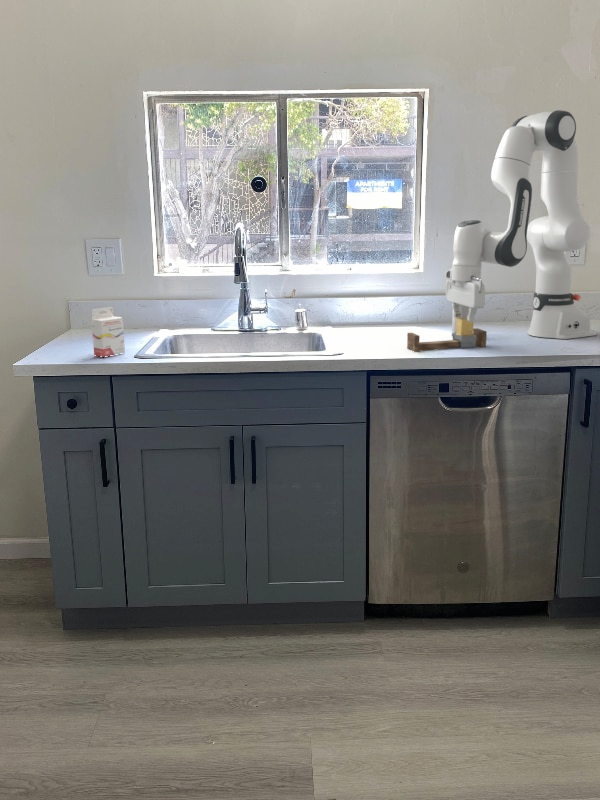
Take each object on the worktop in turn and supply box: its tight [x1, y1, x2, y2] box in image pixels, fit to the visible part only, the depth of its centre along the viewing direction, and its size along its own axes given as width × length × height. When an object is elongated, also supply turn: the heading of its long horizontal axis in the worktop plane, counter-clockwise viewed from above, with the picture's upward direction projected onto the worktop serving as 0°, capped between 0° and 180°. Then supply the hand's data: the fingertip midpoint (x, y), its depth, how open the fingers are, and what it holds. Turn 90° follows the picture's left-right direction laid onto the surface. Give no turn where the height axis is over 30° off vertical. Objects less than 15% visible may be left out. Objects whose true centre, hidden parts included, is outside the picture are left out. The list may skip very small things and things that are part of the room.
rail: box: [406, 327, 488, 353], centre depth 230 cm, size 24×6×5 cm, turn 104°
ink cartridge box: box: [90, 306, 126, 357], centre depth 228 cm, size 9×5×15 cm, turn 141°
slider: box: [452, 318, 476, 349], centre depth 231 cm, size 5×6×9 cm
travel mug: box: [451, 305, 469, 338], centre depth 246 cm, size 6×7×20 cm
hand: (463, 319), depth 229 cm, fingers open, 8 cm apart
